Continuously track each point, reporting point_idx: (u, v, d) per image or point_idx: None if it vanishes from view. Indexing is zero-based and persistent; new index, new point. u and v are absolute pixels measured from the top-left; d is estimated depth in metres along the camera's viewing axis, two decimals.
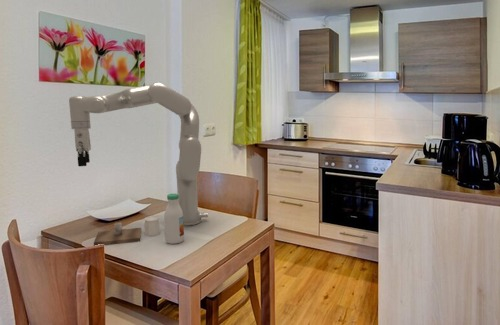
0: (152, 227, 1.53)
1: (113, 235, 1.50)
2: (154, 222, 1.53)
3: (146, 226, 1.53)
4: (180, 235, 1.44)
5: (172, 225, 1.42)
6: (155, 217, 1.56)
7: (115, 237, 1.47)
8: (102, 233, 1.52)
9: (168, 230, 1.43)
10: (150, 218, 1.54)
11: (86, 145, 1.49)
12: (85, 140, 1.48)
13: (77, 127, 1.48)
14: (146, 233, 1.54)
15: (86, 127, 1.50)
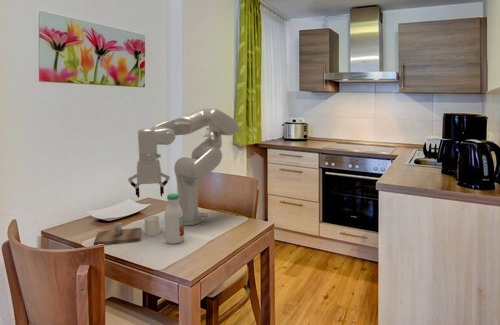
0: (152, 227, 1.53)
1: (113, 235, 1.50)
2: (154, 222, 1.53)
3: (146, 226, 1.53)
4: (180, 235, 1.44)
5: (172, 225, 1.42)
6: (155, 217, 1.56)
7: (115, 237, 1.47)
8: (102, 233, 1.52)
9: (168, 230, 1.43)
10: (150, 218, 1.54)
11: None
12: None
13: None
14: (146, 233, 1.54)
15: None
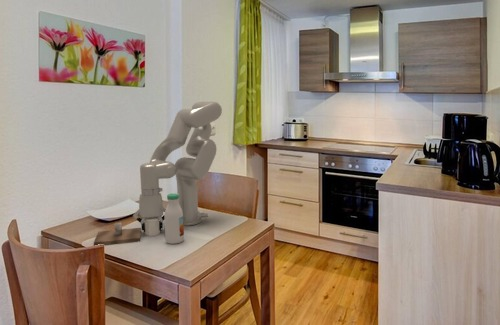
0: (152, 227, 1.53)
1: (113, 235, 1.50)
2: (154, 222, 1.53)
3: (146, 226, 1.53)
4: (180, 235, 1.44)
5: (172, 225, 1.42)
6: (155, 217, 1.56)
7: (115, 237, 1.47)
8: (102, 233, 1.52)
9: (168, 230, 1.43)
10: (150, 218, 1.54)
11: None
12: None
13: None
14: (146, 233, 1.54)
15: None
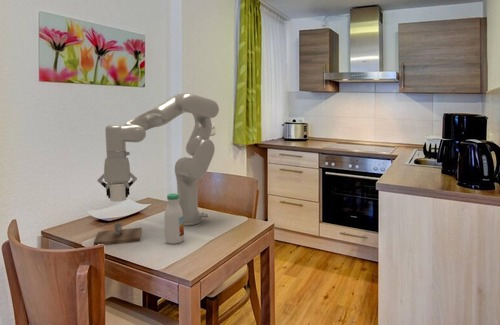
0: (118, 192, 1.45)
1: (113, 235, 1.50)
2: (120, 187, 1.45)
3: (111, 192, 1.45)
4: (180, 235, 1.44)
5: (172, 225, 1.42)
6: (121, 183, 1.48)
7: (115, 237, 1.47)
8: (102, 233, 1.52)
9: (168, 230, 1.43)
10: (116, 183, 1.46)
11: None
12: None
13: (125, 156, 1.46)
14: (111, 199, 1.46)
15: None
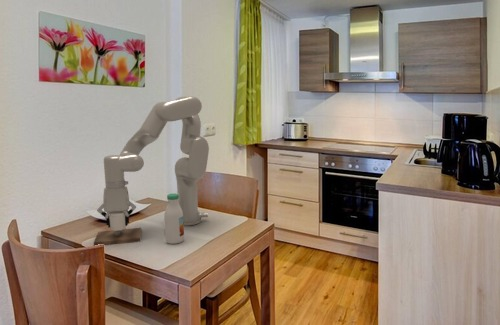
0: (117, 221, 1.46)
1: (113, 235, 1.50)
2: (119, 216, 1.46)
3: (110, 221, 1.47)
4: (180, 235, 1.44)
5: (172, 225, 1.42)
6: (121, 211, 1.49)
7: (115, 237, 1.47)
8: (102, 233, 1.52)
9: (168, 230, 1.43)
10: (115, 212, 1.48)
11: None
12: None
13: (124, 186, 1.47)
14: (111, 228, 1.47)
15: None
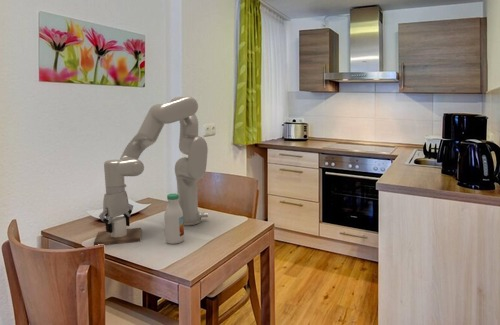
0: (124, 226, 1.49)
1: None
2: (125, 222, 1.49)
3: (116, 228, 1.47)
4: (180, 235, 1.44)
5: (172, 225, 1.42)
6: (120, 217, 1.51)
7: None
8: (102, 233, 1.52)
9: (168, 230, 1.43)
10: (117, 219, 1.49)
11: None
12: None
13: None
14: (117, 235, 1.47)
15: None
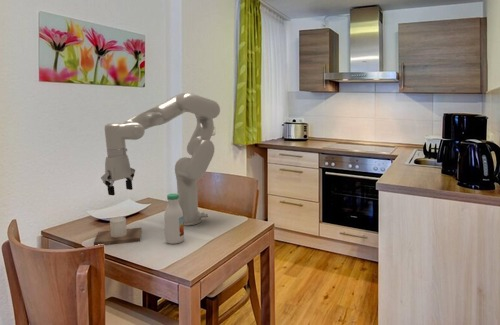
0: (124, 226, 1.49)
1: None
2: (125, 222, 1.49)
3: (116, 228, 1.47)
4: (180, 235, 1.44)
5: (172, 225, 1.42)
6: (120, 217, 1.51)
7: None
8: (102, 233, 1.52)
9: (168, 230, 1.43)
10: (117, 219, 1.49)
11: None
12: None
13: None
14: (117, 235, 1.47)
15: None
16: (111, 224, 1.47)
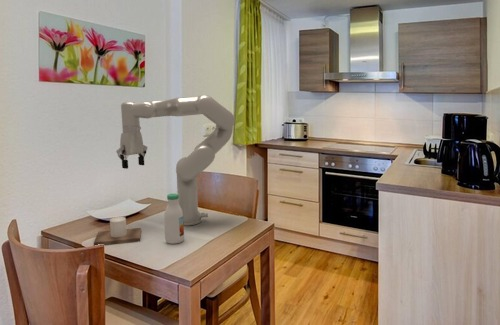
0: (124, 226, 1.49)
1: None
2: (125, 222, 1.49)
3: (116, 228, 1.47)
4: (180, 235, 1.44)
5: (172, 225, 1.42)
6: (120, 217, 1.51)
7: None
8: (102, 233, 1.52)
9: (168, 230, 1.43)
10: (117, 219, 1.49)
11: None
12: None
13: None
14: (117, 235, 1.47)
15: None
16: (111, 224, 1.47)
